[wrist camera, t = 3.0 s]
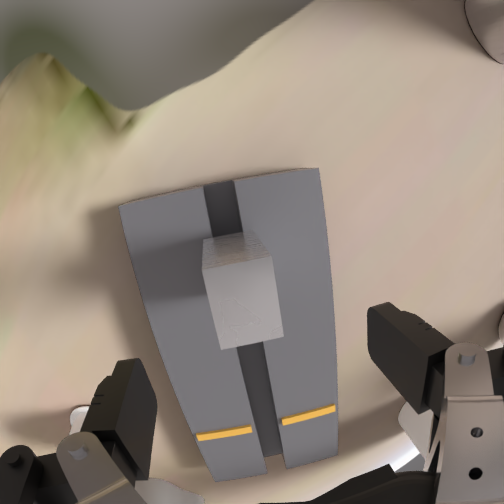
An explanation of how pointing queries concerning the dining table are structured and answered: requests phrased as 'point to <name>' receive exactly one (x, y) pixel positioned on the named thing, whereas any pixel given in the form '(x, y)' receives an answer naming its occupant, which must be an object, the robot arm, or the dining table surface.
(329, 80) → the dining table surface
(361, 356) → the dining table surface
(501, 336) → the plastic bottle
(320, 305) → the fader console
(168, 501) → the lumpy-topped squat cylinder
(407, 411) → the cylindrical container
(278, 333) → the fader knob
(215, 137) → the dining table surface
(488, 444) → the robot arm
